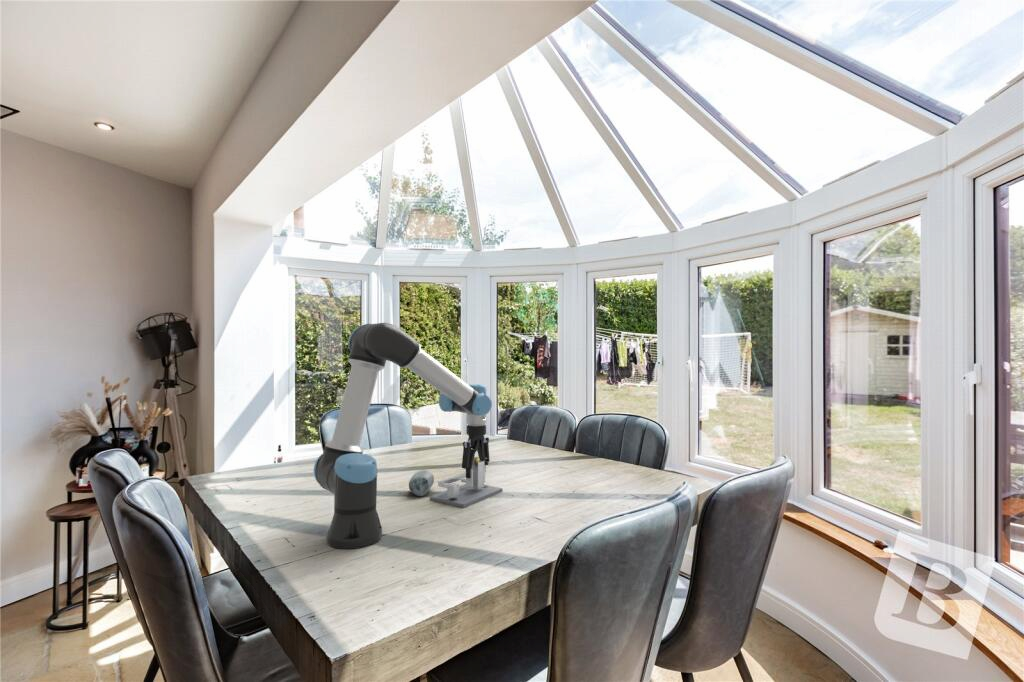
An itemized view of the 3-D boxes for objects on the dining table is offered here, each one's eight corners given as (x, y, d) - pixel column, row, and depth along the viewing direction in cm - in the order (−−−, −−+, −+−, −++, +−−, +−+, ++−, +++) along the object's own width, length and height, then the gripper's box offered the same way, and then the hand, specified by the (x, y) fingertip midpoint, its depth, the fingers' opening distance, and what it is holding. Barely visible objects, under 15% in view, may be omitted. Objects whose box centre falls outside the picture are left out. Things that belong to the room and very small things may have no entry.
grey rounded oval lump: (432, 490, 174) (422, 464, 177) (409, 501, 174) (399, 476, 177) (442, 489, 187) (433, 465, 190) (421, 499, 187) (412, 476, 190)
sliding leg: (477, 491, 178) (478, 459, 179) (459, 488, 183) (460, 456, 183) (484, 489, 182) (484, 457, 182) (466, 485, 186) (466, 454, 187)
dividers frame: (453, 500, 168) (453, 486, 168) (435, 496, 173) (435, 482, 173) (491, 485, 188) (491, 472, 188) (474, 482, 192) (474, 469, 193)
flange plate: (463, 507, 164) (464, 504, 164) (429, 499, 173) (429, 496, 173) (502, 491, 184) (502, 488, 184) (470, 484, 193) (470, 481, 193)
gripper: (467, 428, 172) (467, 491, 171) (499, 422, 188) (498, 479, 188) (452, 426, 176) (451, 488, 175) (484, 420, 193) (483, 477, 192)
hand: (475, 483), depth 181 cm, fingers open, 7 cm apart
